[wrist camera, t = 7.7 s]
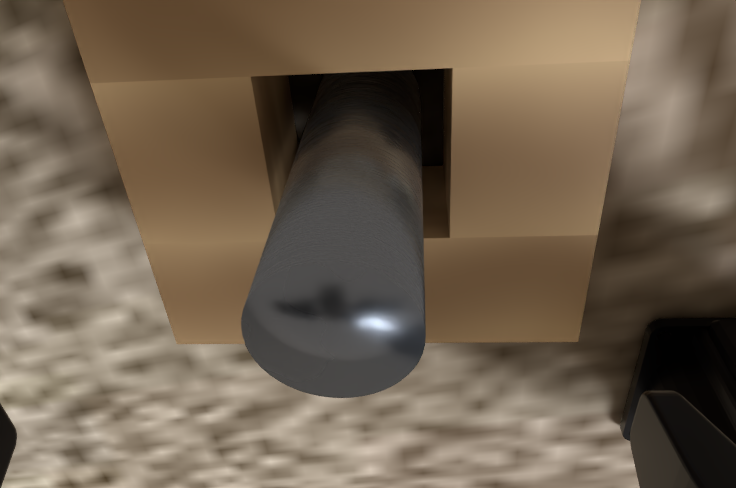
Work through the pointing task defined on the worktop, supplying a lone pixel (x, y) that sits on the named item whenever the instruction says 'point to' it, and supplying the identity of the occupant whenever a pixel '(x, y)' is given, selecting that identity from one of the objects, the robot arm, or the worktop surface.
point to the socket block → (439, 183)
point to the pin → (346, 245)
